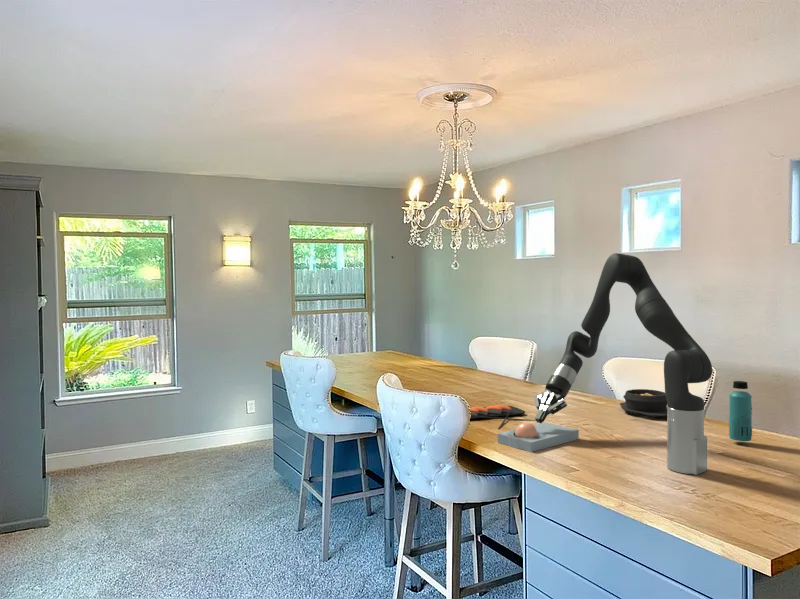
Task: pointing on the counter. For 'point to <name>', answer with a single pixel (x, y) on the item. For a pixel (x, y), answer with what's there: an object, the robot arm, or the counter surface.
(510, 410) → the sushi plate
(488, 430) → the counter surface
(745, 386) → the beverage bottle
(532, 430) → the ball
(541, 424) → the board
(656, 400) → the casserole
